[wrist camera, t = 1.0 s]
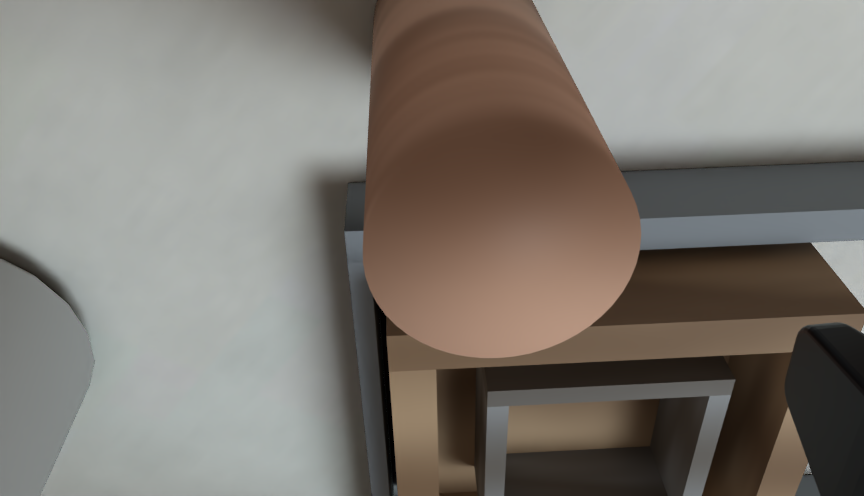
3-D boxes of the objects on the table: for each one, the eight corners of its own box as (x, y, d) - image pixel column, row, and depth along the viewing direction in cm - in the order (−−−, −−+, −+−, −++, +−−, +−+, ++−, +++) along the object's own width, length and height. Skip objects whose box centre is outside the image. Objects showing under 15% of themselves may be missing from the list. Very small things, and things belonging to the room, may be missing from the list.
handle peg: (527, 97, 20) (622, 351, 12) (378, 102, 20) (371, 363, 12) (536, -61, 18) (660, 123, 10) (368, -55, 18) (351, 135, 10)
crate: (712, 476, 29) (758, 585, 26) (403, 492, 29) (405, 605, 25) (789, 216, 23) (868, 313, 19) (386, 234, 22) (386, 336, 18)
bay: (1030, 478, 31) (1095, 556, 28) (380, 513, 30) (379, 596, 27) (1254, 145, 22) (1382, 208, 19) (348, 182, 21) (342, 254, 19)
